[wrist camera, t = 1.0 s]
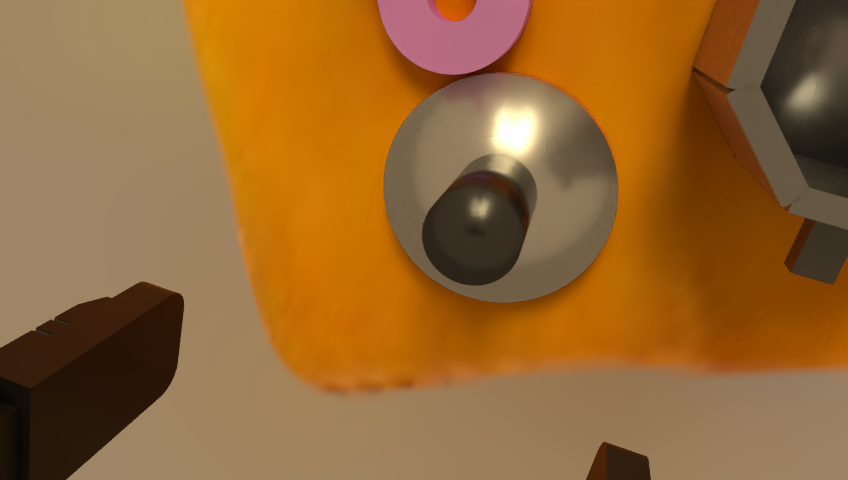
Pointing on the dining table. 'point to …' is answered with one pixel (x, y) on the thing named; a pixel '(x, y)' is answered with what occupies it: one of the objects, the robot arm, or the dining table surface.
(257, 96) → the dining table surface
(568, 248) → the lid
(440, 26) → the bracket
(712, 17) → the pot
